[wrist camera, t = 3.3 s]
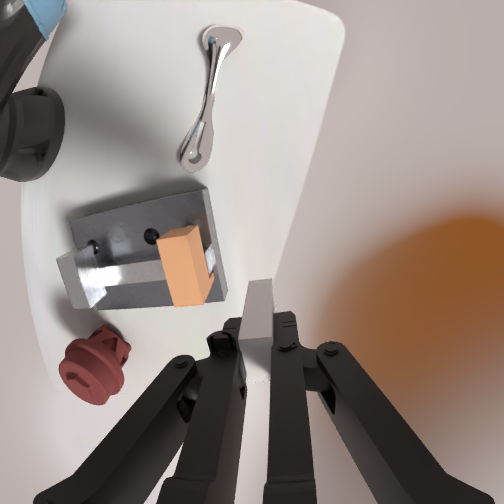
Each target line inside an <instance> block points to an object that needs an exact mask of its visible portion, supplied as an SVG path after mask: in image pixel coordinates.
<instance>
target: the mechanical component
mask: <svg viewBox="0 0 504 504" xmlns="http://www.w3.org/2000/svg"><path fill="white" fill-rule="evenodd" d="M130 350H131V346H130V345H129V344H128V343H126V342H124V341H122V340H121V338H119V337H118V336H117V335H116V334H115V333H113V332H112V331H111V330H110V329H109V327H108V326H106V325H103V326H102V327H101V328H100V329H98V330H96V331H94V333H93V334H92V335H91V336H90V337H89V338H88V339H87V340H86V339H75V340H73V341H72V342H71V343H70V344H69V345H68V346H67V348H66V350H65V358H64V359H63V361H62V362H61V363H60V364H59V373H60V376H61V378H62V380H63V382H64V383H65V384H66V386H67V387H68V388H69V389H70V390H71V391H72V392H73V393H74V394H75V395H77V396H78V397H79V398H81V399H82V400H84V401H86V402H88V403H90V404H93V405H103V404H105V403H106V402H107V400H108V398H109V397H110V395H115V394H117V393H118V392H119V391H120V390H121V388H122V386H123V384H124V375H123V372H122V367H123V366H124V364H125V362H126V361H127V359H128V355H129V354H128V353H129V352H130Z"/></svg>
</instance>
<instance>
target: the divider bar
mask: <svg viewBox="0 0 504 504" xmlns="http://www.w3.org/2000/svg"><path fill="white" fill-rule="evenodd" d="M95 251H96V245H95V244H94V243H90V244H89V245H87V246H84V247H79V248H75V249H73V250H71V251H69V252H67V253H65V254H64V255H62V256H60V257H58V258H56V261H57V264H58V267H59V270H60V273H61V276H62V279H63V282H64V285H65V288H66V290H67V293H68V296H69V298H70V301H71V304H72V306H73V309H84V308H91V307H93V306H94V305H95V304H96V303H97V302H98V301H99V300H100V299H101V298H102V297H103V296H105V295H106V294H107V293H106V290H105V287H104V286H111V285H121V284H131V283H140V282H150V281H159V280H166V276H165V272H164V269H163V265H162V261H161V257H160V255H155V256H148V257H141V258H134V259H128V260H121V261H114V262H108V263H101V264H97V262H96V258H95V255H94V252H95ZM203 251H204V256H205V261H206V265H207V270H208V274H209V275H210V273H211V271H212V269H213V266H212V261H211V257H210V252H209V248H203Z"/></svg>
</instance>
